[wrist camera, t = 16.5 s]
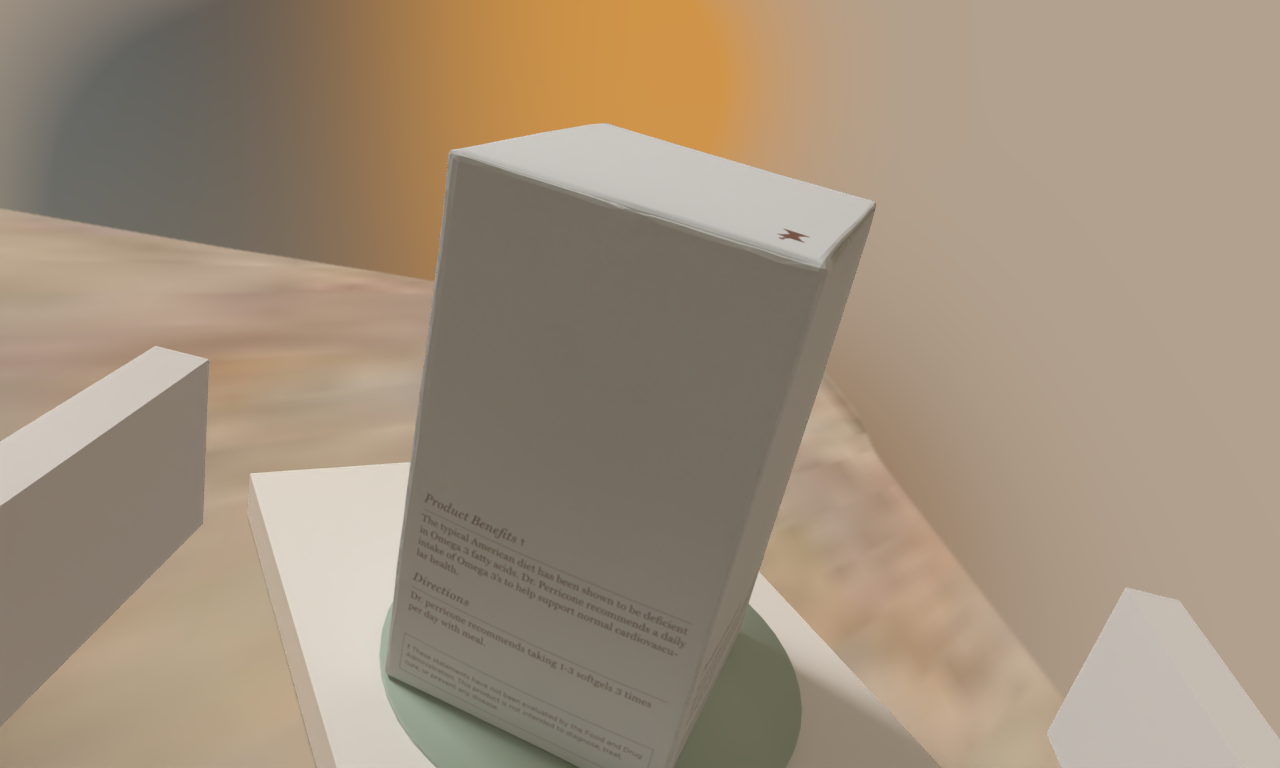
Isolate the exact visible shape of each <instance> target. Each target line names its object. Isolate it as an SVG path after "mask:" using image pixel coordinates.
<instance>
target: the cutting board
mask: <svg viewBox="0 0 1280 768" xmlns="http://www.w3.org/2000/svg"><path fill="white" fill-rule="evenodd" d="M410 463H411V462H407V463H393V464H379V465H364V466H350V467H336V468H321V469H307V470H293V471H279V472H264V473H250V481H249V498H248V514H247V515H248V518H249V522H250V526H251V529H252V533H253V537H254V540H255V544H256V547H257V551H258V555H259V558H260V562H261V566H262V569H263V573H264V577H265V580H266V584H267V588H268V591H269V595H270V599H271V602H272V606H273V610H274V613H275V617H276V621H277V624H278V628H279V632H280V635H281V639H282V642H283V646H284V650H285V653H286V657H287V661H288V664H289V668H290V672H291V675H292V679H293V683H294V686H295V690H296V694H297V697H298V701H299V705H300V708H301V712H302V716H303V719H304V723H305V727H306V730H307V734H308V737H309V741H310V745H311V748H312V752H313V756H314V759H315V763H316V767H317V768H580V767H577V766H575V765H573V764H571V763H569V762H567V761H565V760H563V759H561V758H559V757H557V756H555V755H553V754H551V753H549V752H547V751H545V750H543V749H541V748H539V747H537V746H535V745H533V744H531V743H529V742H527V741H525V740H523V739H521V738H518V737H516V736H514V735H512V734H510V733H508V732H506V731H504V730H502V729H500V728H498V727H496V726H494V725H492V724H489V723H487V722H485V721H483V720H481V719H479V718H477V717H475V716H473V715H471V714H469V713H467V712H465V711H463V710H461V709H459V708H457V707H455V706H453V705H451V704H449V703H447V702H445V701H443V700H441V699H438V698H436V697H434V696H432V695H430V694H428V693H426V692H424V691H422V690H419V689H417V688H415V687H413V686H411V685H409V684H407V683H404V682H402V681H400V680H398V679H396V678H394V677H392V676H390V675H388V674H387V673H385V661H386V653H387V646H388V639H389V630H390V622H391V614H392V605H393V597H394V588H395V578H396V567H397V560H398V553H399V545H400V538H401V531H402V525H403V517H404V508H405V500H406V492H407V485H408V478H409V470H410ZM674 768H941V767H940V766H939V765H938V764H937V762H936V761H935V760H934V759H933V758H932V757H931V756H930V755H929V754H928V753H927V752H926V751H925V750H924V748H923V747H922V746H921V745H920V744H919V743H918V742H917V741H916V740H915V739H914V738H913V737H912V736H911V735H910V733H909V732H908V731H907V730H906V729H905V728H904V727H903V726H902V725H901V724H900V723H899V722H898V721H897V719H896V718H895V717H894V716H893V715H892V714H891V713H890V712H889V711H888V710H887V709H886V708H885V707H884V706H883V704H882V703H881V702H880V701H879V700H878V699H877V698H876V697H875V696H874V695H873V694H872V693H871V692H870V690H869V689H868V688H867V687H866V686H865V685H864V684H863V683H862V682H861V681H860V680H859V679H858V678H857V677H856V675H855V674H854V673H853V672H852V671H851V670H850V669H849V668H848V667H847V666H846V665H845V664H844V663H843V661H842V660H841V659H840V658H839V657H838V656H837V655H836V654H835V653H834V652H833V651H832V650H831V649H830V648H829V646H828V645H827V644H826V643H825V642H824V641H823V640H822V639H821V638H820V637H819V636H818V635H817V634H816V632H815V631H814V630H813V629H812V628H811V627H810V626H809V625H808V624H807V623H806V622H805V621H804V620H803V619H802V617H801V616H800V615H799V614H798V613H797V612H796V611H795V610H794V609H793V608H792V607H791V606H790V605H789V603H788V602H787V601H786V600H785V599H784V598H783V597H782V596H781V595H780V594H779V593H778V592H777V591H776V590H775V588H774V587H773V586H772V585H771V584H770V583H769V582H768V581H767V580H766V579H765V578H764V577H763V576H762V574H761V573H760V572H758V576H757V579H756V582H755V585H754V588H753V591H752V594H751V597H750V601H749V604H748V607H747V610H746V613H745V617H744V620H743V623H742V626H741V629H740V631H739V634H738V636H737V638H736V640H735V643H734V645H733V647H732V649H731V651H730V653H729V655H728V657H727V659H726V661H725V663H724V665H723V668H722V670H721V672H720V674H719V676H718V678H717V680H716V682H715V685H714V687H713V689H712V691H711V693H710V695H709V697H708V699H707V701H706V703H705V705H704V707H703V709H702V711H701V713H700V715H699V717H698V719H697V721H696V723H695V725H694V727H693V729H692V731H691V733H690V735H689V737H688V739H687V741H686V743H685V745H684V747H683V749H682V751H681V753H680V755H679V757H678V760H677V762H676V764H675V766H674Z"/></svg>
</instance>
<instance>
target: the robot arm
mask: <svg viewBox="0 0 1280 768" xmlns="http://www.w3.org/2000/svg"><path fill="white" fill-rule="evenodd" d="M208 372H209V359H206V358H202V357H198V356H194V355H190V354H186V353H182V352H178V351H174V350H170V349H166V348H162V347H157V346H155V347H153V348H151V349H150V350H148V351H146V352H145V353H143V354H142V355H140V356H138V357H137V358H135V359H133V360H132V361H130V362H129V363H127V364H125V365H124V366H122V367H120V368H119V369H117V370H116V371H114V372H112V373H111V374H109V375H107V376H106V377H104V378H103V379H101V380H99V381H98V382H96V383H94V384H93V385H91V386H90V387H88V388H86V389H85V390H83V391H81V392H80V393H78V394H77V395H75V396H73V397H72V398H70V399H68V400H67V401H65V402H64V403H62V404H60V405H59V406H57V407H55V408H54V409H52V410H51V411H49V412H47V413H46V414H44V415H42V416H41V417H39V418H38V419H36V420H34V421H33V422H31V423H29V424H28V425H26V426H25V427H23V428H21V429H20V430H18V431H16V432H15V433H13V434H12V435H10V436H8V437H7V438H5V439H3V440H2V441H0V726H1V725H2V724H3V723H4V722H5V721H6V720H7V719H8V718H9V717H10V716H11V715H12V714H13V713H14V712H15V711H16V710H17V709H18V708H19V707H20V706H21V705H22V704H23V703H24V702H25V701H26V700H27V699H28V698H29V697H30V696H31V695H32V694H33V693H34V692H35V691H36V690H37V689H38V688H39V687H40V686H41V685H42V684H43V683H44V682H45V681H46V680H47V679H48V678H49V677H50V676H51V675H52V674H53V673H54V672H55V671H56V670H57V669H58V668H59V667H60V666H61V665H62V664H63V663H64V662H65V661H66V660H67V659H68V658H69V657H70V656H71V655H72V654H73V653H74V652H75V651H76V650H77V649H78V648H79V647H80V646H81V645H82V644H83V643H84V642H85V641H86V640H87V639H88V638H89V637H90V636H91V635H92V634H93V633H94V632H95V631H96V630H97V629H98V628H99V627H100V626H101V625H102V624H103V623H104V622H105V621H106V620H107V619H108V618H109V617H110V616H111V615H112V614H113V613H114V612H115V611H116V610H117V609H118V608H119V607H120V606H121V605H122V604H123V603H124V602H125V601H126V600H127V599H128V598H129V597H130V596H131V595H132V594H133V593H134V592H135V591H136V590H137V589H138V588H139V587H140V586H141V585H142V584H143V583H144V582H145V581H146V580H147V579H148V578H149V577H150V576H151V575H152V574H153V573H154V572H155V571H156V570H157V569H158V568H159V567H160V566H161V565H162V564H163V563H164V562H165V561H166V560H167V559H168V558H169V557H170V556H171V555H172V554H173V553H174V552H175V551H176V550H177V549H178V548H179V547H180V546H181V545H182V544H183V543H184V542H185V541H186V540H187V539H188V538H189V537H190V536H191V535H192V534H193V533H194V532H195V531H196V530H197V529H198V528H199V527H200V526H201V525H202V524H203V505H204V479H205V452H206V425H207V399H208ZM1047 735H1048V738H1049V740H1050V742H1051V745H1052V747H1053V750H1054V752H1055V754H1056V757H1057V759H1058V762H1059V764H1060V766H1061V768H1280V740H1279V738H1278V737H1277V735H1276V734H1275V733H1274V731H1273V730H1272V728H1271V727H1270V726H1269V724H1268V723H1267V722H1266V720H1265V719H1264V718H1263V716H1262V715H1261V713H1260V712H1259V710H1258V709H1257V708H1256V706H1255V705H1254V703H1253V702H1252V701H1251V700H1250V698H1249V697H1248V695H1247V694H1246V693H1245V691H1244V690H1243V688H1242V687H1241V686H1240V684H1239V683H1238V682H1237V680H1236V679H1235V677H1234V676H1233V675H1232V673H1231V672H1230V670H1229V669H1228V668H1227V666H1226V665H1225V663H1224V662H1223V661H1222V659H1221V658H1220V656H1219V655H1218V654H1217V652H1216V651H1215V650H1214V648H1213V647H1212V645H1211V644H1210V643H1209V641H1208V640H1207V638H1206V637H1205V636H1204V634H1203V633H1202V631H1201V630H1200V629H1199V627H1198V626H1197V625H1196V623H1195V622H1194V620H1193V619H1192V618H1191V616H1190V615H1189V613H1188V612H1187V611H1186V609H1185V608H1184V607H1183V605H1182V604H1181V602H1180V601H1179V600H1175V599H1171V598H1167V597H1163V596H1159V595H1155V594H1151V593H1147V592H1143V591H1139V590H1135V589H1131V588H1127V587H1126V588H1125V589H1124V591H1123V593H1122V595H1121V597H1120V599H1119V601H1118V602H1117V604H1116V606H1115V608H1114V610H1113V612H1112V613H1111V615H1110V617H1109V619H1108V621H1107V623H1106V624H1105V626H1104V628H1103V630H1102V632H1101V634H1100V636H1099V638H1098V639H1097V641H1096V643H1095V645H1094V647H1093V649H1092V650H1091V652H1090V654H1089V656H1088V658H1087V660H1086V662H1085V664H1084V665H1083V667H1082V669H1081V671H1080V672H1079V674H1078V677H1077V678H1076V680H1075V682H1074V684H1073V685H1072V687H1071V689H1070V691H1069V693H1068V695H1067V697H1066V698H1065V700H1064V702H1063V704H1062V706H1061V708H1060V709H1059V711H1058V713H1057V715H1056V717H1055V719H1054V720H1053V722H1052V724H1051V726H1050V728H1049V730H1048V731H1047Z"/></svg>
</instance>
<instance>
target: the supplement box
mask: <svg viewBox="0 0 1280 768" xmlns="http://www.w3.org/2000/svg"><path fill="white" fill-rule="evenodd" d="M875 208H876V203H875V202H873V201H871V200H868V199H864V198H860V197H857V196H853V195H849V194H846V193H842V192H839V191H835V190H832V189H828V188H824V187H821V186H818V185H814V184H811V183H807V182H804V181H800V180H797V179H793V178H789V177H786V176H782V175H779V174H775V173H772V172H769V171H765V170H762V169H758V168H755V167H751V166H748V165H745V164H741V163H738V162H734V161H731V160H728V159H724V158H721V157H717V156H714V155H711V154H707V153H704V152H701V151H697V150H694V149H690V148H687V147H683V146H680V145H677V144H673V143H670V142H667V141H663V140H660V139H656V138H653V137H650V136H646V135H643V134H640V133H636V132H633V131H630V130H626V129H623V128H620V127H616V126H613V125H610V124H607V123H601V124H592V125H585V126H580V127H573V128H567V129H561V130H555V131H549V132H544V133H538V134H534V135H528V136H523V137H518V138H512V139H507V140H502V141H497V142H492V143H488V144H483V145H477V146H472V147H467V148H461V149H453V150H451V151H450V152H449V155H448V165H447V176H446V188H445V200H444V210H443V219H442V227H441V236H440V244H439V254H438V260H437V268H436V275H435V283H434V290H433V298H432V306H431V314H430V322H429V329H428V337H427V344H426V352H425V359H424V366H423V373H422V380H421V387H420V395H419V404H418V410H417V417H416V426H415V433H414V440H413V447H412V455H411V463H410V470H409V478H408V485H407V492H406V500H405V508H404V517H403V525H402V531H401V538H400V545H399V553H398V560H397V567H396V578H395V588H394V597H393V605H392V614H391V622H390V630H389V639H388V646H387V653H386V661H385V673H387V674H388V675H390V676H392V677H394V678H396V679H398V680H400V681H402V682H404V683H407V684H409V685H411V686H413V687H415V688H417V689H419V690H422V691H424V692H426V693H428V694H430V695H432V696H434V697H436V698H438V699H441V700H443V701H445V702H447V703H449V704H451V705H453V706H455V707H457V708H459V709H461V710H463V711H465V712H467V713H469V714H471V715H473V716H475V717H477V718H479V719H481V720H483V721H485V722H487V723H489V724H492V725H494V726H496V727H498V728H500V729H502V730H504V731H506V732H508V733H510V734H512V735H514V736H516V737H518V738H521V739H523V740H525V741H527V742H529V743H531V744H533V745H535V746H537V747H539V748H541V749H543V750H545V751H547V752H549V753H551V754H553V755H555V756H557V757H559V758H561V759H563V760H565V761H567V762H569V763H571V764H573V765H575V766H577V767H580V768H674V766H675V764H676V762H677V760H678V757H679V755H680V753H681V751H682V749H683V747H684V745H685V743H686V741H687V739H688V737H689V735H690V733H691V731H692V729H693V727H694V725H695V723H696V721H697V719H698V717H699V715H700V713H701V711H702V709H703V707H704V705H705V703H706V701H707V699H708V697H709V695H710V693H711V691H712V689H713V687H714V685H715V682H716V680H717V678H718V676H719V674H720V672H721V670H722V668H723V665H724V663H725V661H726V659H727V657H728V655H729V653H730V651H731V649H732V647H733V645H734V643H735V640H736V638H737V636H738V634H739V631H740V629H741V626H742V623H743V620H744V617H745V613H746V610H747V607H748V604H749V601H750V597H751V594H752V591H753V588H754V585H755V582H756V579H757V576H758V572H759V569H760V566H761V563H762V560H763V557H764V553H765V550H766V547H767V544H768V541H769V538H770V535H771V532H772V529H773V526H774V522H775V519H776V516H777V513H778V510H779V507H780V504H781V501H782V498H783V495H784V492H785V489H786V486H787V483H788V480H789V477H790V474H791V471H792V468H793V465H794V462H795V458H796V455H797V452H798V449H799V446H800V443H801V440H802V437H803V434H804V431H805V428H806V425H807V422H808V419H809V416H810V413H811V410H812V407H813V404H814V401H815V398H816V395H817V392H818V389H819V386H820V383H821V380H822V377H823V374H824V370H825V367H826V364H827V361H828V358H829V355H830V352H831V348H832V345H833V342H834V339H835V336H836V333H837V330H838V326H839V323H840V320H841V317H842V314H843V311H844V308H845V305H846V302H847V299H848V296H849V293H850V289H851V286H852V283H853V280H854V277H855V274H856V271H857V268H858V264H859V261H860V258H861V255H862V252H863V249H864V246H865V242H866V239H867V236H868V233H869V230H870V226H871V223H872V219H873V216H874V212H875Z"/></svg>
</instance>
